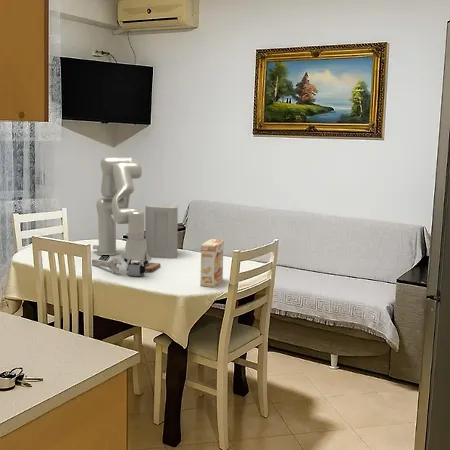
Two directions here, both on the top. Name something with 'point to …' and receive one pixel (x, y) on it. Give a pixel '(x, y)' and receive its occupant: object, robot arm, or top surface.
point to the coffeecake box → (211, 262)
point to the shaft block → (151, 267)
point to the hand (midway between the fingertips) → (136, 272)
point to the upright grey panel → (161, 230)
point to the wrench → (108, 264)
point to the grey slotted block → (134, 269)
